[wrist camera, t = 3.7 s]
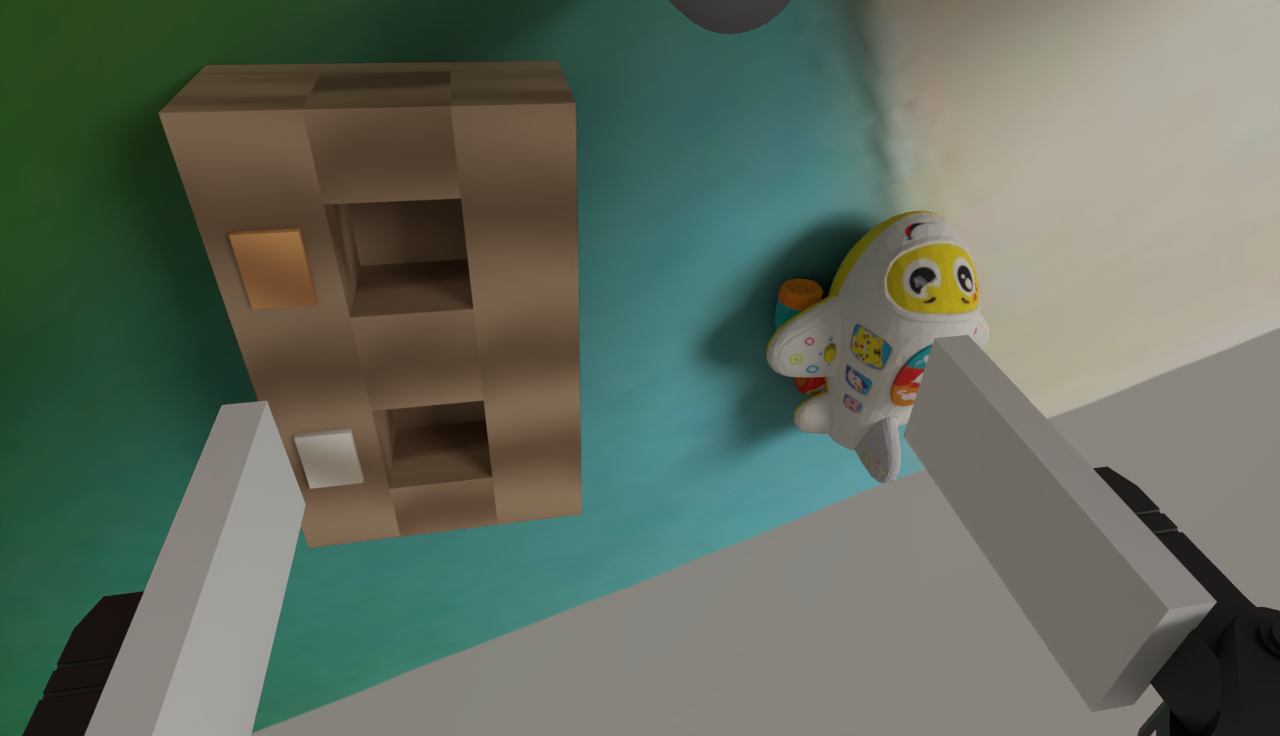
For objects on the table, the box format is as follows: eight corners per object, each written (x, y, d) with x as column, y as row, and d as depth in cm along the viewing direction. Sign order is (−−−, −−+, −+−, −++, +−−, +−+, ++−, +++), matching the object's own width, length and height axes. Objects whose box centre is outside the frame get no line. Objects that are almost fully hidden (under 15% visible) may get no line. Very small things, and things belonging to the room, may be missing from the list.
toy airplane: (775, 513, 40) (846, 280, 31) (727, 405, 47) (774, 185, 37) (988, 488, 43) (1114, 267, 33) (915, 389, 50) (1003, 181, 40)
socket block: (205, 64, 29) (155, 115, 24) (557, 60, 32) (576, 105, 27) (325, 466, 42) (307, 552, 37) (568, 440, 45) (582, 518, 40)
